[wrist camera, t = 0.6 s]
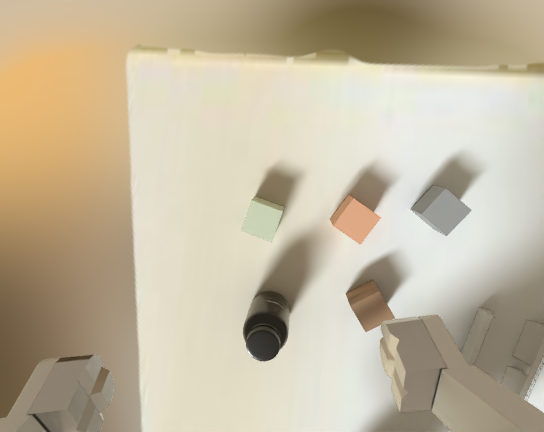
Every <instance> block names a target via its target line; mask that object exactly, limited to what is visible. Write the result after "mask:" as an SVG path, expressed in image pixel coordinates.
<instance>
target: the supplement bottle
mask: <svg viewBox="0 0 544 432" xmlns="http://www.w3.org/2000/svg"><path fill="white" fill-rule="evenodd" d="M289 316H290V309H289V305H288V303H287V301H286V300H285V298H284V297H282V296H281V295H280V294H278V293H275V292H264V293H261V294H259V295H258V296H256V297H255V298H254V300H253V301H252V303H251V306H250V309H249V312H248V315H247V318H246V320H245V323H244V327H243V336H244V339H245V342H246V347H247V350H248V353H249V354H250V355H251V356H252V357H253V358H254V359H257V360H260V361H268V360H271V359H273V358H274V357H276V355H277V354H278V352H279V350H280V349H281V348H282V347H283V346H284V345H285V343H286V341H287V338H288V330H289Z"/></svg>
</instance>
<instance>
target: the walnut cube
mask: <svg viewBox="0 0 544 432" xmlns="http://www.w3.org/2000/svg"><path fill="white" fill-rule="evenodd" d="M346 296H347V298H348V301H349V304H350V306H351V308H352V310H353V311H354V313H355V315H356V316H357V318H358V320H359V322H360V323H361V325H362V327H363V328H364V330H365V332H367V331H369V330H371V329H373V328H375V327H377V326H380V325H381V324H382V322H383V321H386V320H392V319H394V318H395V317H394V315H393V314H392V312H391V310H390V308H389V307H388V305H387V303H386V301H385V300H384V298H383V296H382V294H381V292H380V291H379V289H378V288H377V286H376V284H375V283H374V281H373V280H371V281H369V282H367V283H365V284H363V285H361V286H359V287H357V288H356V289H354V290H352V291H350V292H348V293H346Z"/></svg>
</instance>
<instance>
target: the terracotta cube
mask: <svg viewBox="0 0 544 432" xmlns="http://www.w3.org/2000/svg"><path fill="white" fill-rule="evenodd" d="M380 218H381V217H380V216H378V215H377V214H375V213H374V212H373V211H371V210H370V209H368V208H367V207H365V206H364V205H363V204H361V203H360V202H358V201H357V200H355V199H354V198H353V197H351V196H350V195H348V196H347V197H346V199H345V200H344V201H343V203H342V204H341V205H340V207H339V208H338V209H337V211H336V212H335V213H334V215H333V216H332V217H331V219H330V221H331V223H332V224H333V226H334V227H336V228H337V229H339V230H340V231H342V232H343V233H345V234H346V235H347V236H349V237H350V238H352V239H353V240H355V241H356V242H357V243H359V244H361V243H362V242H363V240H364V239H365V238H366V237H367V235H368V234H369V233H370V231H371V230H372V229H373V227H374V226H375V225H376V224H377V222H378V221H379V220H380Z"/></svg>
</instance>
